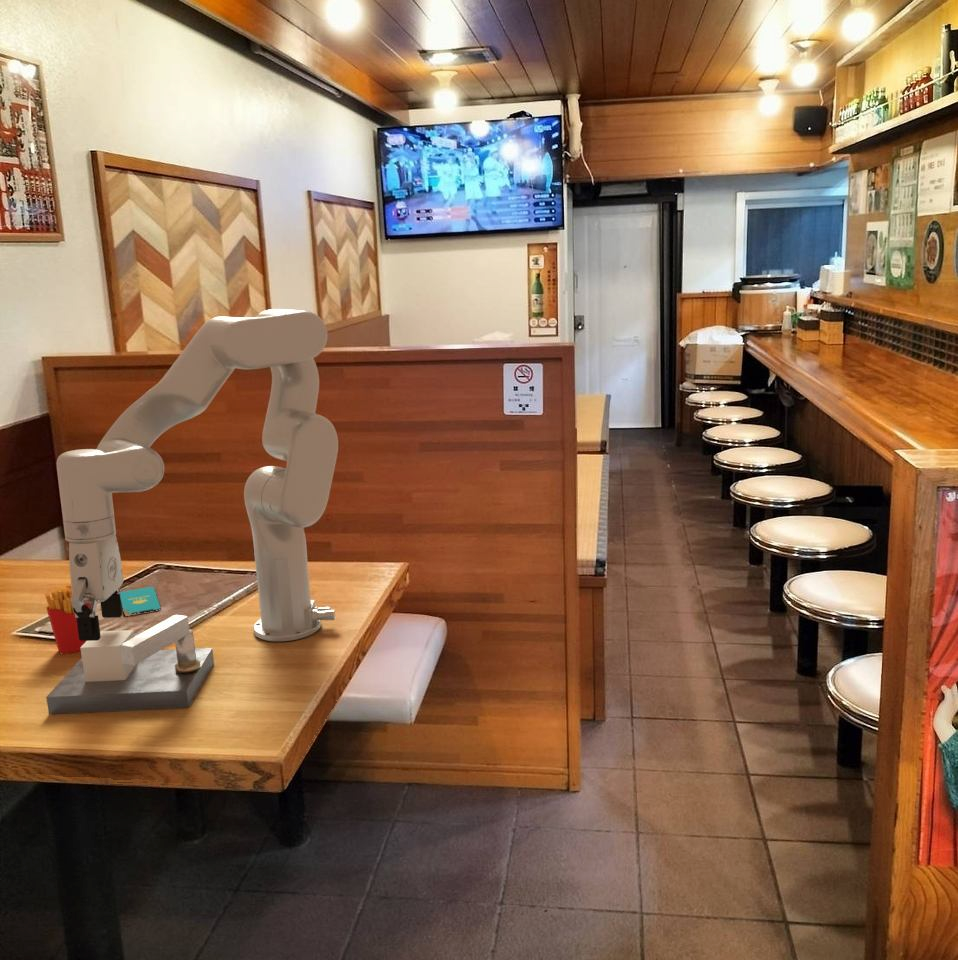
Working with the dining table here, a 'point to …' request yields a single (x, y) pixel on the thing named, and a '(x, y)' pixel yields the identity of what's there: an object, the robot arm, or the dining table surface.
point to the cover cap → (106, 657)
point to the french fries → (64, 619)
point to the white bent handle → (163, 644)
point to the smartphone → (140, 600)
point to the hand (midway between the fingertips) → (101, 628)
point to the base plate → (132, 687)
